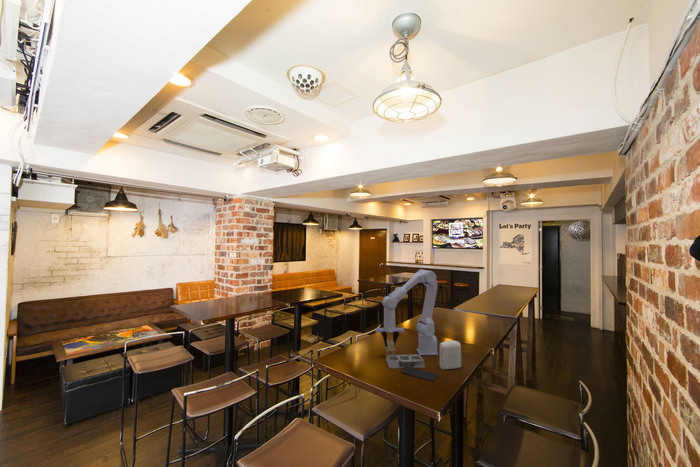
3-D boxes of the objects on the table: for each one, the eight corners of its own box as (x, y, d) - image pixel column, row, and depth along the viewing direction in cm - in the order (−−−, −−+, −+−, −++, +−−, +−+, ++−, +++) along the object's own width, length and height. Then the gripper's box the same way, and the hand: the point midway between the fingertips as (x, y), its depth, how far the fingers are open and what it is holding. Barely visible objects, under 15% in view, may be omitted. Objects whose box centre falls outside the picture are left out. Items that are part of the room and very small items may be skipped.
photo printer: (457, 364, 135) (456, 338, 136) (462, 368, 131) (462, 341, 132) (438, 366, 133) (437, 340, 133) (443, 370, 129) (442, 343, 129)
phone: (433, 381, 118) (400, 372, 127) (433, 383, 118) (400, 374, 127) (438, 374, 125) (406, 366, 133) (438, 376, 125) (406, 367, 133)
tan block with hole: (394, 353, 147) (393, 339, 147) (396, 356, 142) (395, 342, 142) (384, 353, 147) (384, 339, 147) (386, 357, 142) (386, 342, 142)
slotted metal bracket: (419, 360, 140) (419, 354, 140) (424, 367, 132) (424, 361, 132) (385, 361, 139) (385, 355, 140) (388, 368, 131) (388, 362, 132)
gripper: (376, 322, 141) (377, 349, 141) (405, 321, 141) (405, 349, 141) (375, 318, 148) (375, 344, 148) (402, 318, 149) (402, 344, 148)
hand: (390, 346), depth 145 cm, fingers closed on tan block with hole, 3 cm apart
